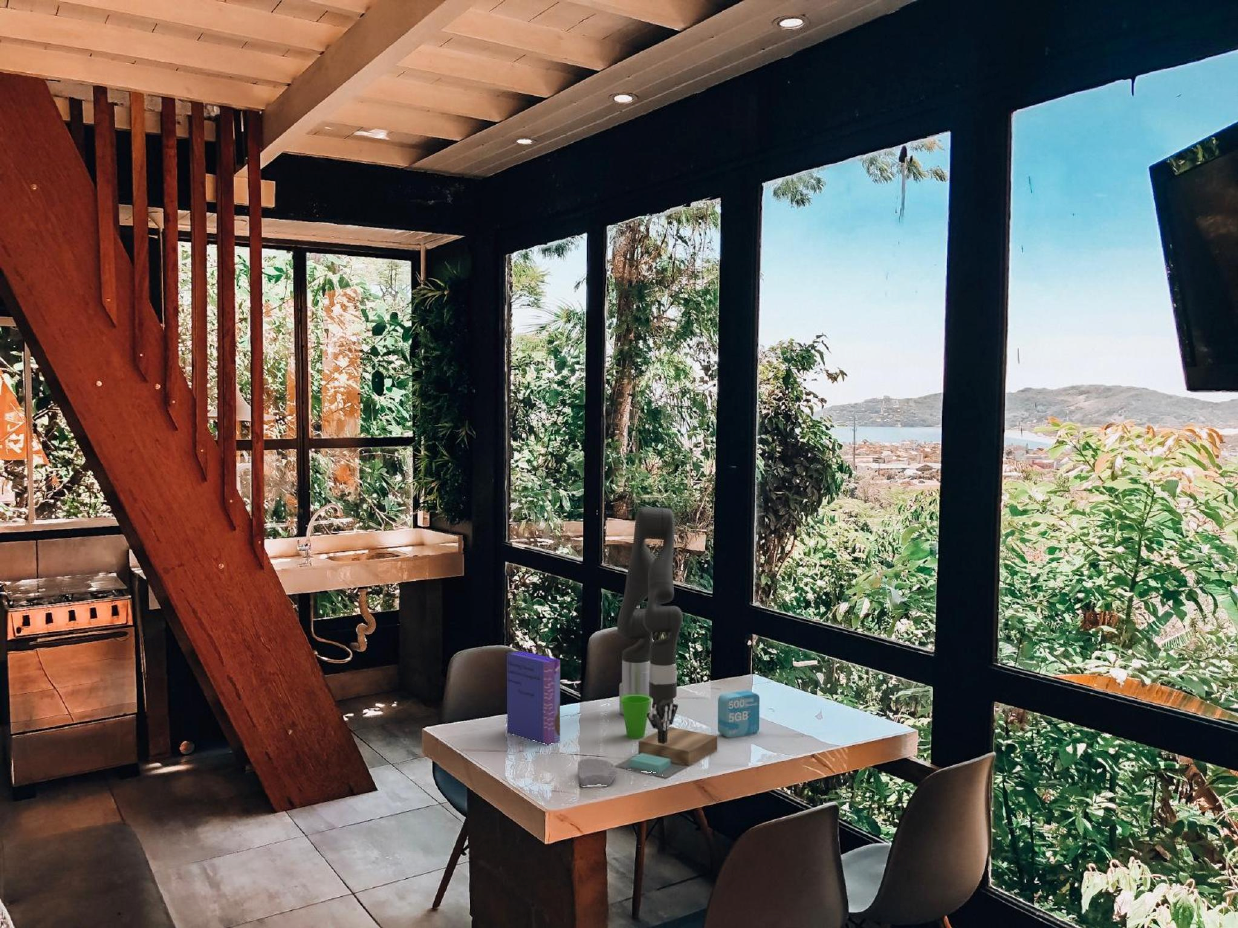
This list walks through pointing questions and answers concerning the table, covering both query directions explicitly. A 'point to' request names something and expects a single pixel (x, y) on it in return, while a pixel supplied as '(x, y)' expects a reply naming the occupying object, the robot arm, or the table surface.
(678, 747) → the wooden block
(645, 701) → the cup
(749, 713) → the data package
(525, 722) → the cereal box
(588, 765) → the stone block
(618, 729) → the table surface
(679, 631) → the robot arm
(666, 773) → the mat
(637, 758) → the teal flat block
